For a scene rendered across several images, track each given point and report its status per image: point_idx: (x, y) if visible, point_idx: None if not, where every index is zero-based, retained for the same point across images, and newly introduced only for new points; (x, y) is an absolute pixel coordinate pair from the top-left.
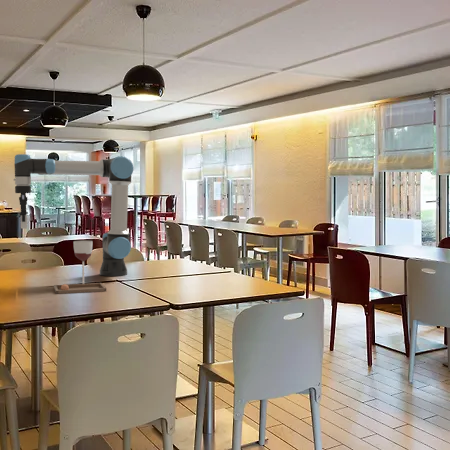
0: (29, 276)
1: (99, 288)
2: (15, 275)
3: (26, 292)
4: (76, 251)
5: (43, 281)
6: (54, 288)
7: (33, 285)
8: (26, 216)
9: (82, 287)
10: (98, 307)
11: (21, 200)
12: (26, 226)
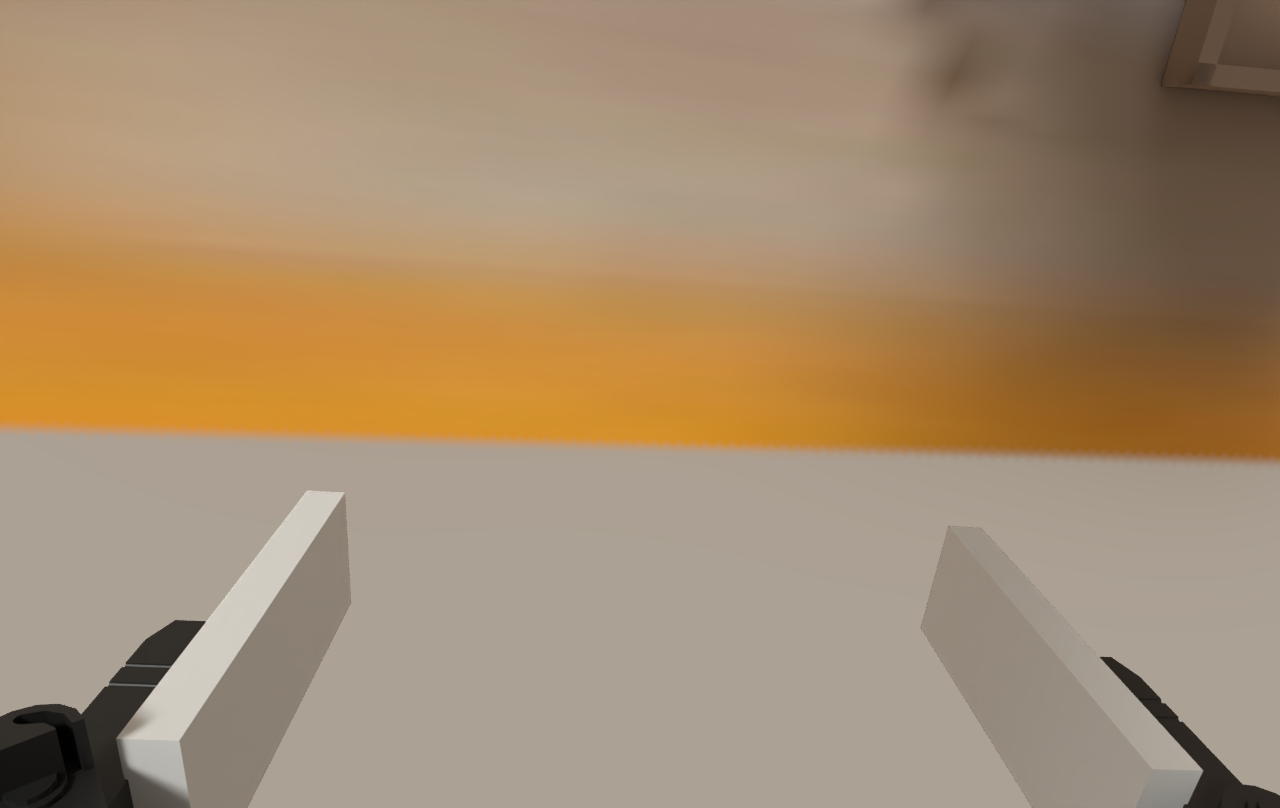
0: (223, 217)
1: None
2: (122, 340)
3: (1144, 314)
4: None
5: (620, 117)
6: (1242, 90)
7: (826, 232)
8: (220, 678)
9: None
10: None
11: None
12: (1004, 554)
